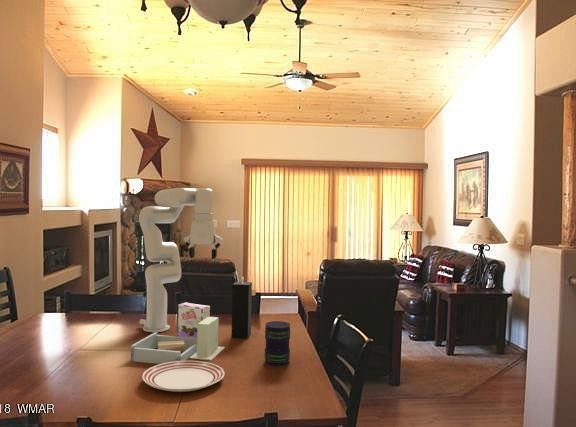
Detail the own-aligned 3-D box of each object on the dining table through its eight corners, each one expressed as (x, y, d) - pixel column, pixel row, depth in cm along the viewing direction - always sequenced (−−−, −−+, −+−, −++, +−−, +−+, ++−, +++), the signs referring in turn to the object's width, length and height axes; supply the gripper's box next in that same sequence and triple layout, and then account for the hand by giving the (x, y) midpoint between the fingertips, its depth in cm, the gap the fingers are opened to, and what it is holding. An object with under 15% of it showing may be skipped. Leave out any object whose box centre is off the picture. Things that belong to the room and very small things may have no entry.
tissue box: (251, 333, 210) (252, 275, 210) (247, 338, 202) (249, 277, 202) (234, 333, 211) (236, 274, 210) (231, 337, 203) (232, 277, 203)
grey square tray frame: (130, 361, 170) (130, 345, 170) (154, 346, 188) (155, 332, 188) (179, 365, 166) (179, 349, 166) (198, 350, 184) (199, 335, 184)
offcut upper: (184, 351, 175) (184, 343, 175) (158, 353, 172) (158, 345, 172) (183, 347, 179) (183, 340, 179) (157, 349, 176) (158, 342, 176)
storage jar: (267, 368, 165) (268, 328, 165) (261, 359, 175) (262, 321, 175) (292, 366, 168) (293, 327, 168) (286, 357, 178) (286, 320, 177)
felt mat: (189, 358, 174) (189, 357, 174) (204, 346, 190) (204, 345, 190) (211, 360, 172) (211, 359, 172) (224, 347, 188) (224, 346, 188)
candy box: (176, 340, 197) (177, 304, 197) (185, 337, 202) (186, 301, 202) (201, 345, 190) (201, 307, 190) (209, 342, 196) (210, 305, 195)
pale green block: (196, 356, 176) (197, 323, 175) (207, 347, 187) (208, 316, 187) (207, 357, 175) (208, 324, 175) (218, 347, 187) (218, 317, 186)
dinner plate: (191, 362, 170) (191, 353, 170) (240, 381, 153) (241, 371, 153) (125, 383, 149) (125, 373, 149) (174, 407, 132) (175, 396, 132)
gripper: (180, 217, 184) (179, 258, 185) (220, 218, 181) (219, 260, 181) (188, 217, 192) (187, 256, 192) (226, 218, 188) (225, 258, 189)
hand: (202, 258), depth 187 cm, fingers open, 9 cm apart
